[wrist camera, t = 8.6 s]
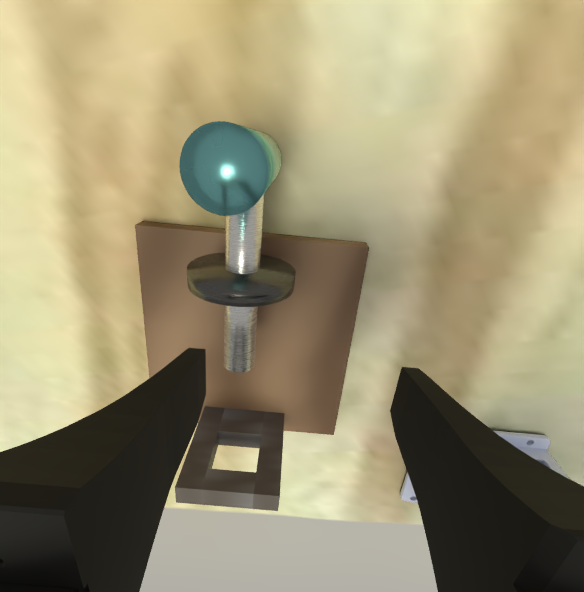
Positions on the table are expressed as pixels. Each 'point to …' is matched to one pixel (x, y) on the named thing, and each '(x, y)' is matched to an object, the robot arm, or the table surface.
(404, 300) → the table surface
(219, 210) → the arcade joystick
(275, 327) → the eye stand
